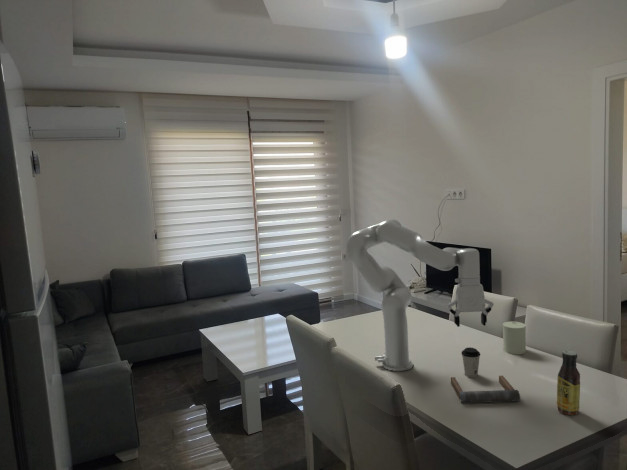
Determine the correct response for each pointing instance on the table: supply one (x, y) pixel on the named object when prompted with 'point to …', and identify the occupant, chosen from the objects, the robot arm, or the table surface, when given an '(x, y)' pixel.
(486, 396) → the bay
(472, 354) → the coffee cup
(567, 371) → the sauce bottle
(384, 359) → the robot arm
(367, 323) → the table surface
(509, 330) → the can
